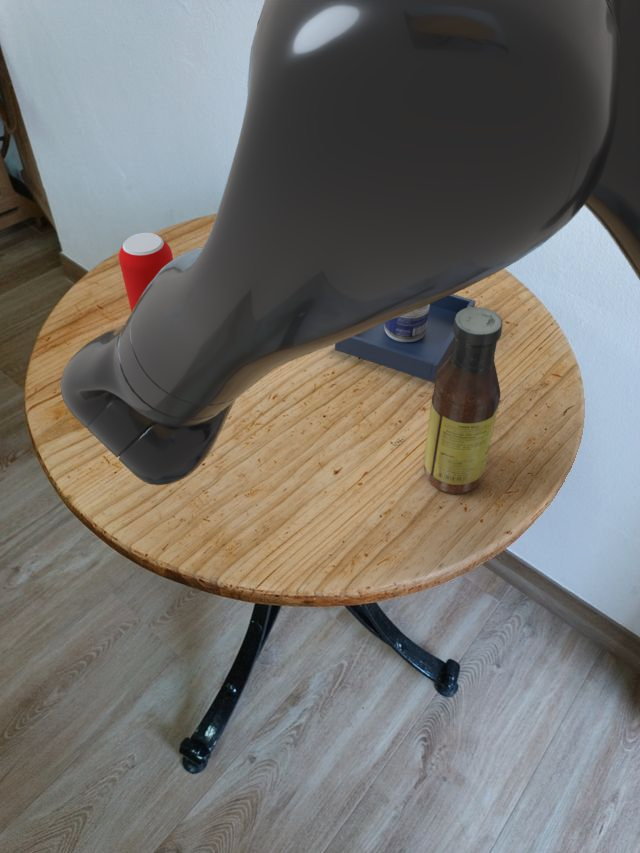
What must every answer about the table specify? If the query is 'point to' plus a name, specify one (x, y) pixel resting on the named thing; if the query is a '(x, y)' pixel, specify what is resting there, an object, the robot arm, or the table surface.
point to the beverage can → (142, 262)
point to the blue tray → (417, 355)
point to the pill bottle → (408, 325)
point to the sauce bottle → (464, 404)
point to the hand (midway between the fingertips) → (377, 195)
